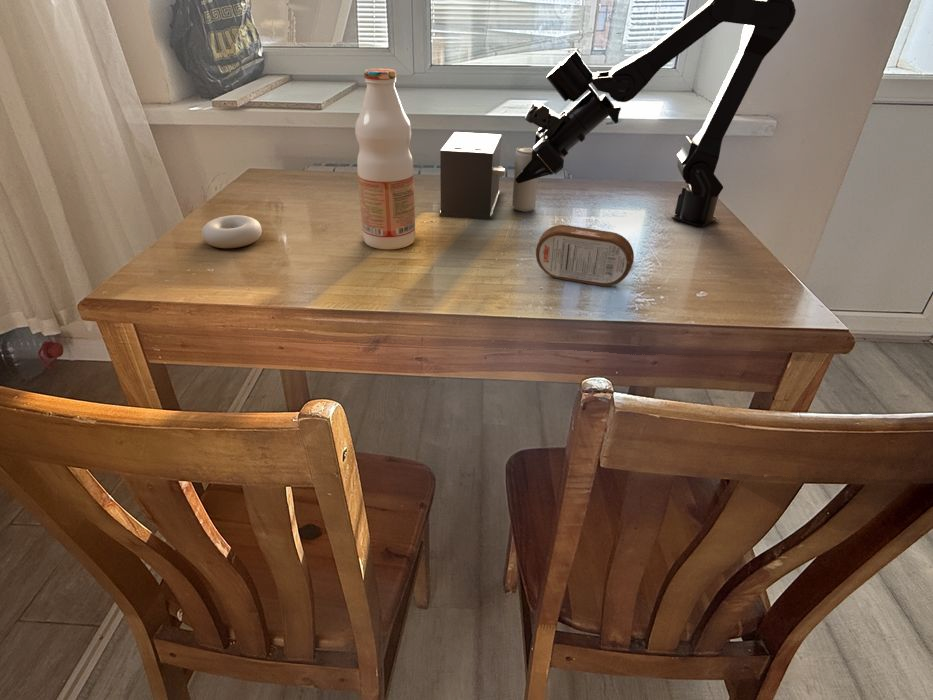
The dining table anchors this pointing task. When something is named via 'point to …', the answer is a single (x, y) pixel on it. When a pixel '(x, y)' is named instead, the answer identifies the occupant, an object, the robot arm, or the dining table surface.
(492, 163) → the toaster
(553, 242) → the tin
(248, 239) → the donut
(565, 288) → the dining table surface
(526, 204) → the beverage can
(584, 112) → the robot arm
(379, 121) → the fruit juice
